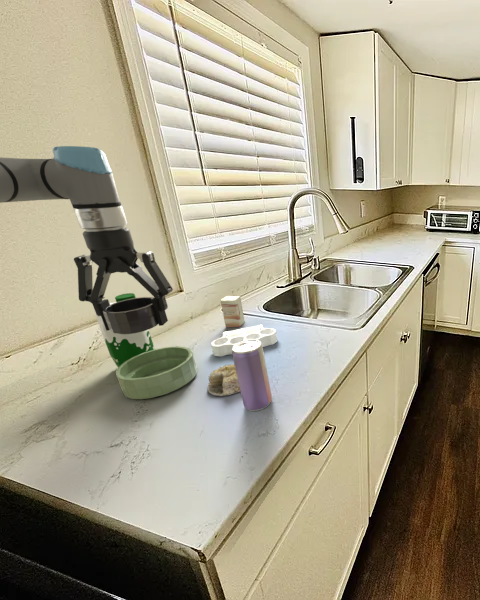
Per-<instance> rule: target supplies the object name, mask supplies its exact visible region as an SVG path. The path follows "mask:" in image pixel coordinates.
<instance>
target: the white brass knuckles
mask: <svg viewBox="0 0 480 600" xmlns="http://www.w3.org/2000/svg"><path fill="white" fill-rule="evenodd" d="M245 340H258V341H260V342H261V345H262V347H263V348H265V347H267V346H272V345H275V344H277V342H278V334H277V330H276V329H275V328H272V327H264V326H263V324H258V325H253V326H248V327H241V328H239V329H232V330H228V331H223V332H222V336H221V337H218V338H216V339H214V340H213V341H211V343H210V345H211V349H212V350H211V351H212V354H213V356H215V357H224V356H229V355H232V352H233V350H232V348H233V346H234V345H236V344H237V343H239V342H242V341H245Z"/></svg>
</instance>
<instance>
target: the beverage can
mask: <svg viewBox="0 0 480 600" xmlns="http://www.w3.org/2000/svg"><path fill="white" fill-rule="evenodd" d="M232 350H233V352H232V354H231V355H232V359H233V365H234V364H235V368H236V373H237V377H238V382H239V386H240V393H241V394H240V396H241V399H242V404H243V408H245V409H246V410H247V411H250V412H258V411H263V410H265V409H266V408H267V407H268V406H269V405H270V404H271V402H272V400H273V395H272V391H271V385H270V379H269V374H268V369H267V363H266V357H265V353H264V347H262V345H261V342H260V341H258V340H245V341H242V342H239V343H237V344H236V345H234V346H233V348H232Z"/></svg>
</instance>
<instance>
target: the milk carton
mask: <svg viewBox="0 0 480 600" xmlns="http://www.w3.org/2000/svg"><path fill="white" fill-rule="evenodd" d="M133 298H137V297H136V294H135V293H133V292H129V293H122V294H118V295H115V297H114V299H115V301H114V302H109V303H110V305H111V304H113V303H116V302H119V301H123V300H127V299H133ZM93 310H94V313H95V316H96V320H97V323H98V327H99V330H100V332H101V335H102V337H103V340H104V342H105V345H106V348H107V351H108V353H109V355H110V357H111V359H112V360H113V362H114V363H115V366H116V367H117V368H118V367H119V366H120V365H122V364H123V363H124V362H126V361H127V360H129V359H131V358H132V357H135V356H137V355H139V354H142V353H144V352H148V351H151V350H154V349H155V346H154V342H153V339H152V336H151V333H150V329H149V330H146V331H142V332H138V333H133V334H117V333H112V332H110V330H108V331H106V328H105V325H104V323H103V320H102V317H101V316H98V315H97V314H96V312H95V309H94V308H93Z"/></svg>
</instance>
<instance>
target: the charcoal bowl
mask: <svg viewBox="0 0 480 600" xmlns="http://www.w3.org/2000/svg"><path fill="white" fill-rule="evenodd" d="M153 298H154V296H140V297H136V298H133V299H127V300H123V301H119V302H116V301H115V302H116V303H114V302H112V303H113V304H111V305H108V306H107V307H105V308H103V314H104V316H105V319H106V321H107V324H108V327H109V330H110V332H112V333H117V334H133V333H138V332H142V331H146V330H149V331H150V330H151V329H153V328H155V327H157V326H159V324H158V320H157V317H156V314H155V311H154V308H153V304H152V301H151V299H153Z"/></svg>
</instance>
